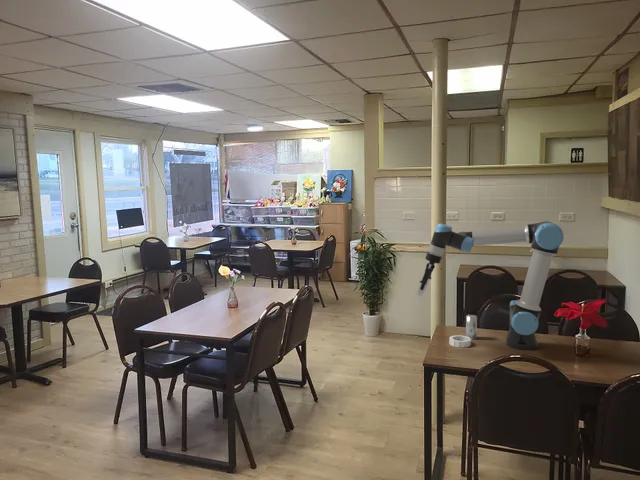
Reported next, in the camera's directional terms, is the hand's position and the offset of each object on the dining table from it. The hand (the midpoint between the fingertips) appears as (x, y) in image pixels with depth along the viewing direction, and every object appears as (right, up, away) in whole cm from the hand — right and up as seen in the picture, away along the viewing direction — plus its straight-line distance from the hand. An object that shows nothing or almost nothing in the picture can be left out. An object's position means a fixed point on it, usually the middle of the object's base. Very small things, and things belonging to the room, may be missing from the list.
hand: (421, 292), depth 247 cm
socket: (+21, -27, +3) cm, 34 cm away
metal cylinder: (+29, -26, +13) cm, 41 cm away
